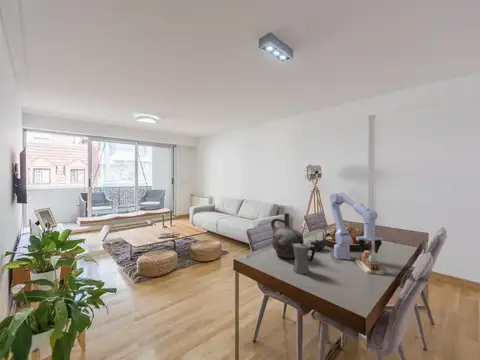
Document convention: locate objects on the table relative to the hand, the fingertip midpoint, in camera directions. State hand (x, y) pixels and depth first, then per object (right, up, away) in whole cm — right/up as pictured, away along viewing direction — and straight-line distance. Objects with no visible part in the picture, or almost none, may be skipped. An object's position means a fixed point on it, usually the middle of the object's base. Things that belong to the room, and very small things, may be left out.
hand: (369, 252), depth 138 cm
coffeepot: (-42, -10, -5) cm, 44 cm away
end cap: (-20, -9, +33) cm, 40 cm away
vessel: (-46, -9, +21) cm, 51 cm away
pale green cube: (-1, -4, -4) cm, 6 cm away
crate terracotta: (0, -4, +4) cm, 6 cm away
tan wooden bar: (0, -8, 0) cm, 8 cm away
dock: (0, -9, 0) cm, 9 cm away
